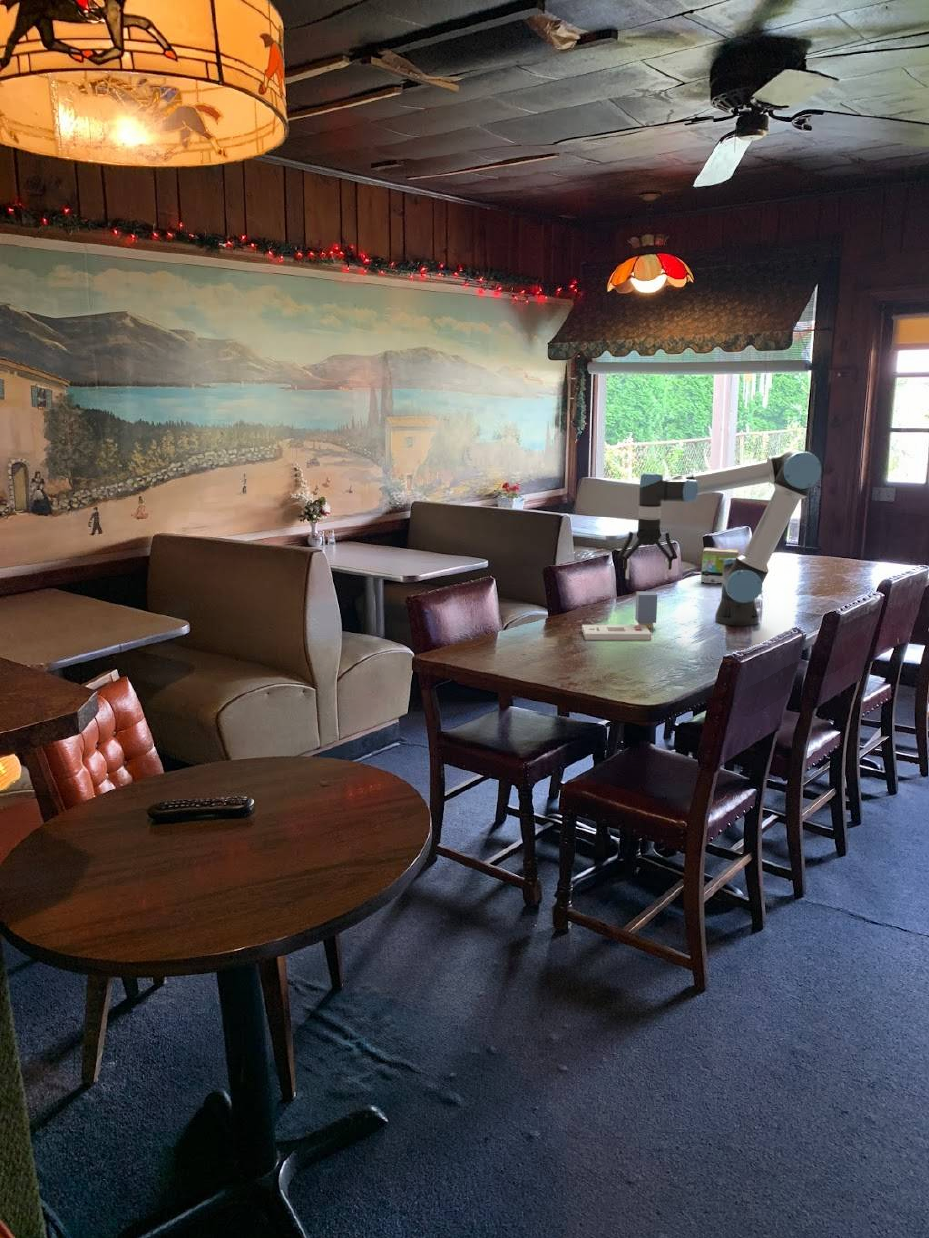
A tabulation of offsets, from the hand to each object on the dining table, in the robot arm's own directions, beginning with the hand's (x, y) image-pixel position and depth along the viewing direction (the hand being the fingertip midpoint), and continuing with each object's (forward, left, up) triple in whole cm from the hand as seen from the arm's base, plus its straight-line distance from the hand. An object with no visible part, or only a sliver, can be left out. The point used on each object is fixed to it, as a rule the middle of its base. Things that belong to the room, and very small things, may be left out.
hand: (646, 578), depth 328 cm
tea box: (-45, -85, -18) cm, 98 cm away
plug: (0, 0, -17) cm, 17 cm away
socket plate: (+12, +13, -17) cm, 25 cm away
